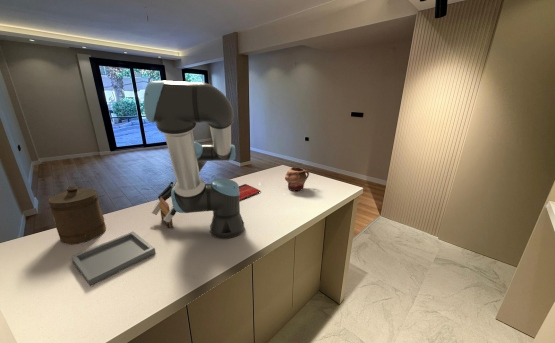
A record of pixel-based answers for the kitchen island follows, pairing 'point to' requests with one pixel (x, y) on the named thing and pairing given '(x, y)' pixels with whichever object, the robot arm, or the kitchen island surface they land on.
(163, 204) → the ammunition clip
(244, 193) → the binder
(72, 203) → the wooden container
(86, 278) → the tray
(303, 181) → the brown ceramic jug
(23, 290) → the kitchen island surface
